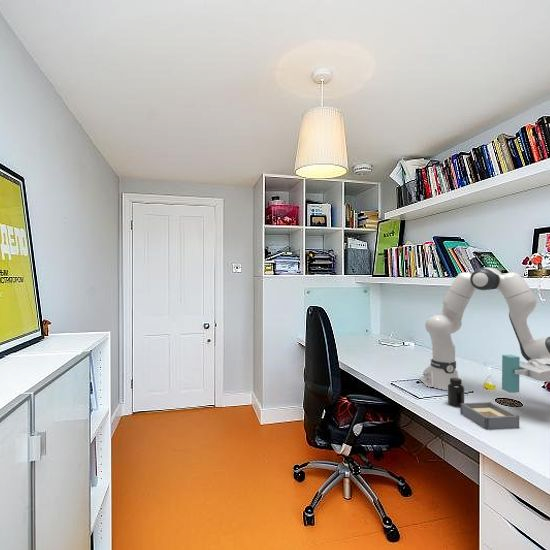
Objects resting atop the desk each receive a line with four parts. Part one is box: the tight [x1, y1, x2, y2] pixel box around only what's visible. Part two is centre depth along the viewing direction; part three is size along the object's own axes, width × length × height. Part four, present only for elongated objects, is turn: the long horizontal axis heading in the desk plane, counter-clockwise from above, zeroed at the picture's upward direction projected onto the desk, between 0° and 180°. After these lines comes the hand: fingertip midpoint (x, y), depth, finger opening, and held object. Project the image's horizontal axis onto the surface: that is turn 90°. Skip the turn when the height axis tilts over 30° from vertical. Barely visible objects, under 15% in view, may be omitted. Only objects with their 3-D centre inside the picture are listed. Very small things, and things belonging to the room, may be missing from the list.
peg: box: [501, 354, 521, 394], centre depth 152 cm, size 4×4×15 cm
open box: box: [459, 401, 520, 431], centre depth 147 cm, size 16×14×4 cm
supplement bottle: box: [447, 377, 465, 408], centre depth 164 cm, size 7×7×12 cm
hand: (508, 369), depth 152 cm, fingers closed on peg, 4 cm apart
